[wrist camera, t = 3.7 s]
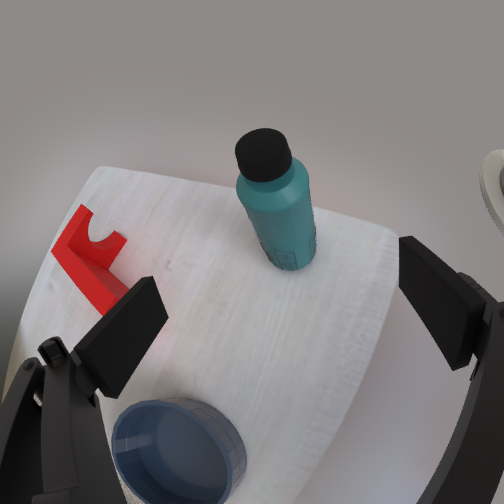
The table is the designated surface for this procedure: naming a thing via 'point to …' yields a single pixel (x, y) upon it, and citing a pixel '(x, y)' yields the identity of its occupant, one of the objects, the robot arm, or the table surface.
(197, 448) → the bowl
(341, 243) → the table surface
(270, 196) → the beverage bottle
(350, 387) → the table surface
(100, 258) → the bracket
